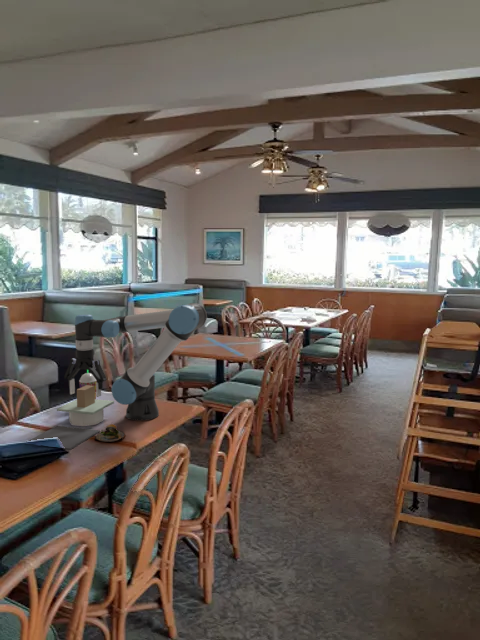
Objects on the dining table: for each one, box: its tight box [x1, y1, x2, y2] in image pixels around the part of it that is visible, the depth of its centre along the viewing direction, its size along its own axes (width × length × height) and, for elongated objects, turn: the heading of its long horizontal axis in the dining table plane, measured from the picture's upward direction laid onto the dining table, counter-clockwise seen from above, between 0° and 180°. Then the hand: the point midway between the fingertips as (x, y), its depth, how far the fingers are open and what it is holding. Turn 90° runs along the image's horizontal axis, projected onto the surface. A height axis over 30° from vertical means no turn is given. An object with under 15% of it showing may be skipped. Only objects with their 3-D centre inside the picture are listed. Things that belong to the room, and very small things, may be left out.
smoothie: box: [78, 370, 97, 399], centre depth 240 cm, size 8×8×20 cm
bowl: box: [68, 409, 105, 427], centre depth 220 cm, size 14×14×6 cm
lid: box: [56, 385, 115, 415], centre depth 219 cm, size 18×18×9 cm
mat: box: [27, 425, 101, 451], centre depth 198 cm, size 21×21×1 cm
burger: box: [94, 423, 126, 443], centre depth 198 cm, size 12×12×8 cm
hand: (85, 395), depth 219 cm, fingers open, 13 cm apart
